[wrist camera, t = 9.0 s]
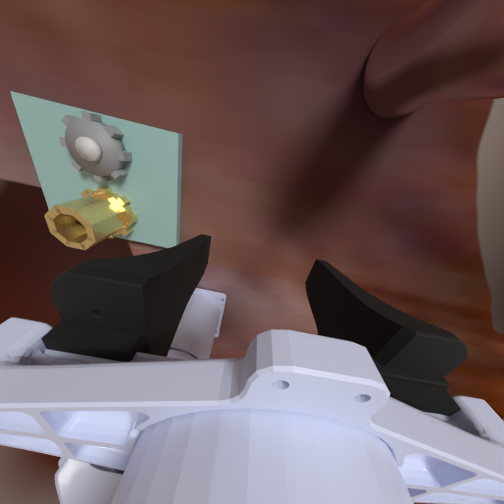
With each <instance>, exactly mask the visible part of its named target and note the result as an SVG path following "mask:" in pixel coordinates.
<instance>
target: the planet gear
mask: <svg viewBox="0 0 504 504" xmlns="http://www.w3.org/2000/svg"><path fill="white" fill-rule="evenodd" d="M81 195H82V196H83V197H84V198H80V199H76V200H72V201H68V202H65V203H61V204H57V205H54V206H53V207H52V208H51V209H50V210H49V211H48V212H47V213H46V214H45V219H46V221H47V224H48V227H49V230H50V233H51V234H53V235H54V236H55V237H56V238H58V239H59V240H60V241H61V242H63V243H64V244H65V245H66V246H68V247H73V248H78V249H83V250H86V249H88V248H90V247H92V246H93V245H95V244H97V243H99V242H101V241H102V240H104V239H106V238H108V237H109V238H115V237H116V236H118V235H119V234H122V235H123V236H126V235H128V234H129V233H131V232H132V231H133V230H134V229H133V228H132V227H131V226H132V225H133V224H134V222H136V221H137V220H138V217H137V214H134V213H132V208H131V207H130V206H129V205H128V203H129V202H131V201H130V200H129V199H128V198H127V197H126V196H123V197H121V196H120V195H119V194H118V193H113V192H112V187H108V186H102V187H97V190H96V191H95V190H94V189H93V188H92V189H88V190H84V191H83V192H82V193H81Z"/></svg>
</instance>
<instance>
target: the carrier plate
mask: <svg viewBox="0 0 504 504" xmlns="http://www.w3.org/2000/svg"><path fill="white" fill-rule="evenodd" d="M10 93H11V96H12V99H13V102H14V105H15V108H16V111H17V114H18V117H19V120H20V123H21V126H22V129H23V132H24V135H25V138H26V141H27V144H28V147H29V150H30V153H31V156H32V159H33V162H34V166H35V169H36V172H37V175H38V178H39V181H40V184H41V187H42V190H43V193H44V196H45V199H46V202H47V205H48V208H49V210H50V209H51V208H52V207H53V206H54V205H57V204H61V203H65V202H68V201H72V200H76V199H80V198H84V197H83V196H82V195H81V193H82V192H83V191H84V190H88V189H92V188H93V189H94V190H95V191H96V190H97V187H102V186H108V187H112V192H113V193H118V194H119V195H120V196H121V197H123V196H126V197H127V198H128V199H129V200H130V201H131V202H129V203H128V205H129V206H130V207H131V208H132V213H134V214H137V217H138V220H137V221H136V222H134V224H133V225H132V226H131V227H132V228H133V229H134V230H133V231H132V232H131V233H129V234H128V235H126V236H123V235H122V234H119V235H118V236H116V237H118V238H122V239H127V240H132V241H137V242H141V243H146V244H151V245H156V246H161V247H165V248H171V247H173V246H176V245H178V244H179V242H180V209H181V175H182V142H183V135H182V134H178V133H175V132H171V131H167V130H163V129H159V128H155V127H151V126H147V125H143V124H139V123H135V122H131V121H127V120H123V119H119V118H115V117H111V116H107V115H103V114H99V113H95V112H92V111H88V110H84V109H80V108H76V107H72V106H68V105H64V104H60V103H56V102H52V101H48V100H44V99H40V98H36V97H32V96H28V95H24V94H20V93H16V92H12V91H10Z"/></svg>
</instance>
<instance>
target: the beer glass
mask: <svg viewBox="0 0 504 504" xmlns="http://www.w3.org/2000/svg"><path fill="white" fill-rule="evenodd" d="M363 95H364V99H365V102H366V104H367V106H368V107H369V109H370V110H371V111H372V112H373V113H374V114H376V115H377V116H380V117H383V118H389V119H391V118H398V117H402V116H405V115H407V114H409V113H412V112H414V111H415V110H417V109H419V108H421V107H423V106H425V105H427V104H429V103H432V102H436V101H447V100H479V99H499V98H504V0H428V1H427V2H426V3H424V4H423V5H421V6H420V7H418V8H416V9H415V10H413V11H411V12H409V13H408V14H406V15H404V16H403V17H401V18H400V19H399V20H397V21H396V22H395V23H394V24H392V25H391V26H390V27H389V28H388V29H387V30H386V31H385V32H384V34H383V35H382V36H381V37H380V39H379V40H378V41H377V43H376V45H375V46H374V48H373V50H372V52H371V54H370V56H369V58H368V61H367V63H366V67H365V70H364V75H363Z"/></svg>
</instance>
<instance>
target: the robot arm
mask: <svg viewBox="0 0 504 504" xmlns="http://www.w3.org/2000/svg"><path fill="white" fill-rule="evenodd" d="M210 241H211V236H207V235H203V234H201V235H199V236H196V237H194V238H192V239H190V240H188V241H186V242H183V243H181V244H178V245H176V246H173V247H171V248H168V249H164V250H161V251H157V252H153V253H148V254H143V255H138V256H131V257H122V258H112V259H111V258H109V259H85V260H84V261H82V262H81V263H79V264H77V265H76V266H74V267H72V268H71V269H69V270H67V271H66V272H64V273H63V274H61V275H59V276H58V277H56V278H55V280H54V281H53V282H52V286H51V293H52V297H53V300H54V302H55V304H56V307H57V309H58V311H59V314H60V316H61V319H62V321H61V322H60V323H58V324H57V325H56V326H55V327H54V328H53V327H52V326H50V325H49V324H46V323H43V322H37V321H32V320H27V319H21V318H10V319H8V320H7V321H5V322H4V323H2V324H1V325H0V445H4V446H10V447H16V448H21V449H25V450H30V451H36V452H41V453H45V454H49V455H54V456H59V457H61V459H60V460H59V467H60V468H59V469H58V471H57V472H56V474H55V485H56V489H57V493H58V497H59V500H60V504H414V503H413V502H419V503H440V504H441V503H442V504H504V422H503V421H502V419H501V418H500V417H499V416H498V415H497V414H496V413H495V412H494V411H493V409H492V408H491V407H490V406H489V405H488V404H487V403H486V402H485V400H482V399H479V398H473V397H467V396H461V395H456V396H452V397H451V395H450V394H449V393H448V391H447V390H446V389H445V388H448V387H449V383H448V382H447V381H446V380H445V379H444V376H445V375H447V374H448V373H449V372H451V371H452V370H454V369H455V368H456V367H458V366H459V365H460V364H461V363H462V362H463V361H464V360H465V359H466V357H467V352H468V349H467V347H466V345H465V344H464V343H463V342H462V341H461V340H460V339H459V338H458V337H456V336H455V335H454V334H452V333H451V332H449V331H446V330H444V329H441V328H439V327H436V326H434V325H431V324H429V323H426V322H424V321H421V320H419V319H417V318H415V317H413V316H410V315H408V314H406V313H404V312H402V311H400V310H398V309H396V308H394V307H392V306H390V305H388V304H387V303H385V302H383V301H381V300H380V299H378V298H376V297H375V296H373V295H371V294H370V293H368V292H367V291H365V290H364V289H362V288H361V287H359V286H358V285H357V284H355V283H354V282H352V281H351V280H350V279H349V278H347V277H346V276H345V275H343V274H342V273H341V272H340V271H338V270H337V269H336V268H334V267H333V266H332V265H330V264H329V263H327V262H326V261H322V260H318V259H316V261H315V263H314V265H313V267H312V269H311V271H310V274H309V276H308V278H307V280H306V282H305V283H306V291H307V296H308V300H309V303H310V307H311V310H312V313H313V316H314V319H315V323H316V326H317V330H318V335H314V334H309V333H304V332H298V331H293V330H288V329H271V330H268V331H265V332H263V333H260V334H258V335H257V336H256V337H255V338H254V339H253V341H252V342H251V343H250V345H249V348H248V350H247V353H246V355H245V357H244V358H220V359H209V357H210V353H211V349H212V345H213V341H214V337H218V336H219V331H220V326H221V321H222V316H223V311H224V307H225V302H226V297H227V296H226V294H224V293H220V292H215V291H210V290H205V289H200V288H196V287H197V285H198V283H199V281H200V280H201V278H202V276H203V274H204V271H205V269H206V266H207V263H208V257H209V249H210Z"/></svg>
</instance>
